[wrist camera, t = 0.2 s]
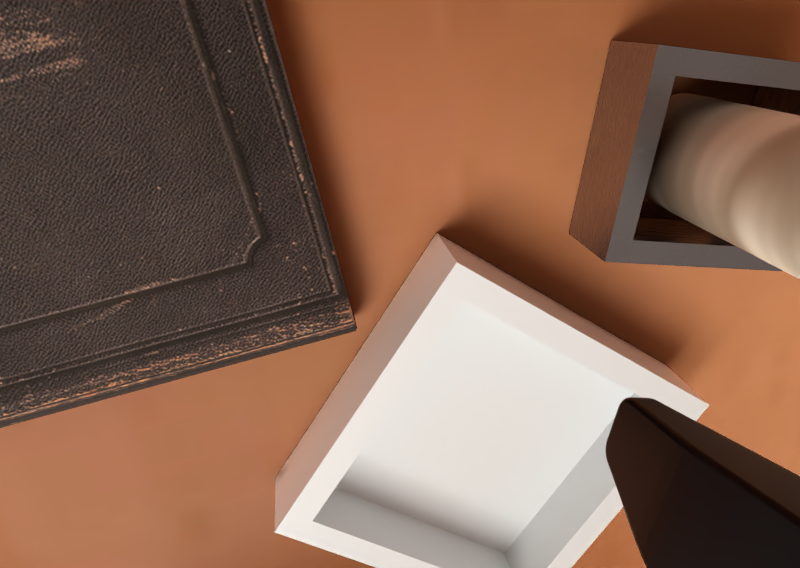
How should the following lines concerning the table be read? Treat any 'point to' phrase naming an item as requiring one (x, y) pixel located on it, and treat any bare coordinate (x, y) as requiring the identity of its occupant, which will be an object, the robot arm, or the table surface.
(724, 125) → the dowel
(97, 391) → the hardcover book
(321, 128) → the table surface
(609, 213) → the collar
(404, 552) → the tray
